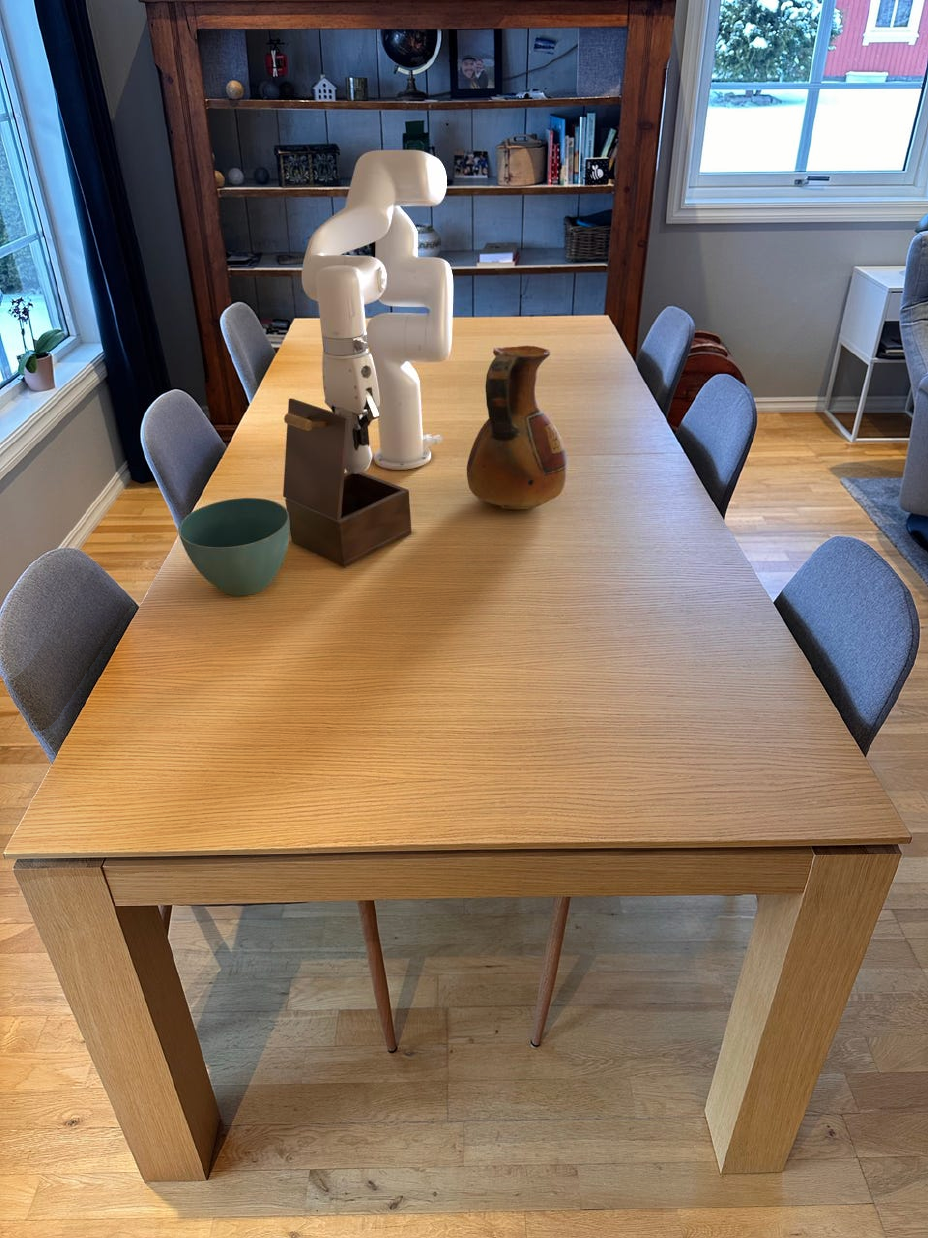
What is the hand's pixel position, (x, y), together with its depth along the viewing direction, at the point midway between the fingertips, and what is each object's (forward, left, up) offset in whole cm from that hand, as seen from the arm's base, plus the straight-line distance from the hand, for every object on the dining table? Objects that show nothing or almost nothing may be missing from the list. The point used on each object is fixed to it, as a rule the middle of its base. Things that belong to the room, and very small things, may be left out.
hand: (354, 444), depth 166 cm
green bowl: (+26, +5, -18) cm, 32 cm away
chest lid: (+9, +2, 0) cm, 9 cm away
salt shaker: (0, 0, -5) cm, 5 cm away
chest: (+3, +1, -18) cm, 18 cm away
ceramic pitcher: (-32, +5, -18) cm, 37 cm away
